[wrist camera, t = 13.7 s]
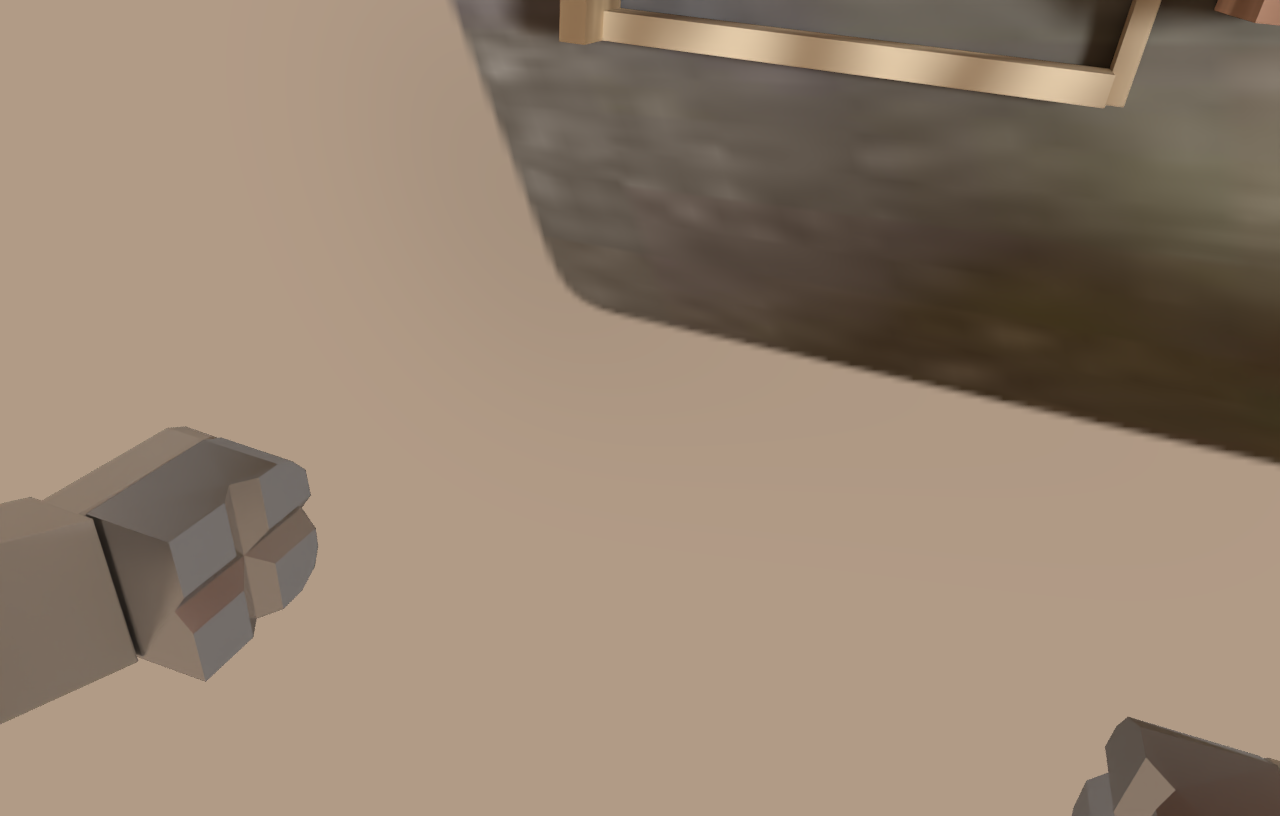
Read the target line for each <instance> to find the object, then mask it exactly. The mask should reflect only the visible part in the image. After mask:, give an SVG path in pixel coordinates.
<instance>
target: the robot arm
mask: <svg viewBox="0 0 1280 816" xmlns="http://www.w3.org/2000/svg"><path fill="white" fill-rule="evenodd" d="M310 495H311V494H310V489H309V484H308V479H307V475H306V470H305V469H303V468H302V467H300V466H299V465H297V464H295V463H294V462H292V461H289V460H286V459H283V458H280V457H278V456H275V455H271V454H268V453H266V452H262V451H260V450H257V449H254V448H251V447H248V446H245V445H242V444H239V443H236V442H233V441H230V440H227V439H224V438H217V437H214V436H211V435H209V434H206V433H203V432H200V431H197V430H194V429H191V428H188V427H175V428H174V427H173V428H166V429H165V430H163V431H161V432H159V433H158V434H156V435H154V436H153V437H151V438H149V439H147V440H146V441H144V442H142V443H140V444H139V445H137V446H135V447H133V448H132V449H130V450H128V451H127V452H125V453H123V454H122V455H120V456H118V457H116V458H115V459H113V460H111V461H109V462H108V463H106V464H104V465H102V466H101V467H99V468H97V469H96V470H94V471H92V472H90V473H89V474H87V475H85V476H83V477H82V478H80V479H78V480H77V481H75V482H73V483H71V484H70V485H68V486H66V487H65V488H63V489H61V490H59V491H58V492H56V493H54V494H53V495H51V496H49V497H47V498H46V499H44V500H42V501H41V500H38V499H35V498H32V497H28V498H23V499H19V500H15V501H10V502H6V503H2V504H0V724H2V723H4V722H6V721H9V720H11V719H13V718H15V717H17V716H19V715H22V714H24V713H26V712H28V711H30V710H33V709H35V708H37V707H39V706H42V705H44V704H46V703H48V702H50V701H52V700H55V699H57V698H59V697H61V696H64V695H66V694H68V693H70V692H72V691H74V690H77V689H79V688H81V687H83V686H86V685H88V684H90V683H92V682H94V681H96V680H99V679H101V678H103V677H105V676H107V675H110V674H112V673H114V672H116V671H119V670H121V669H123V668H125V667H127V666H130V665H132V664H134V663H136V662H137V661H138V659H137V657H139V658H142V659H145V660H147V661H150V662H153V663H156V664H158V665H161V666H164V667H167V668H169V669H172V670H175V671H178V672H180V673H183V674H186V675H189V676H191V677H194V678H197V679H200V680H202V681H205V682H206V681H207V680H208V679H209V678H210V677H211V676H212V675H213V674H214V673H216V672H217V671H218V670H219V669H220V668H221V667H222V666H223V665H224V664H225V663H226V662H227V661H228V660H229V659H230V658H232V657H233V656H234V655H235V654H236V653H237V652H238V651H239V650H240V649H241V648H242V647H243V646H244V645H245V644H247V642H249V641H250V640H251V639H252V638H253V636H254V631H255V624H256V619H257V618H260V617H263V616H265V615H268V614H271V613H274V612H276V611H279V610H282V609H284V608H285V607H286V606H287V605H288V604H289V603H290V602H291V601H292V600H293V599H294V598H295V597H296V596H297V595H298V594H299V593H300V592H301V591H302V590H303V588H304V586H305V584H306V582H307V580H308V578H309V576H310V575H311V573H312V570H313V569H314V567H315V562H316V555H317V549H318V542H317V535H316V528H315V527H314V525H313V524H312V522H311V521H310V519H309V518H308V517H307V515H306V514H305V512H304V511H303V510H302V506H303V505H304V504H305V502H306V501H307V500H308V498H309V497H310ZM1105 750H1106V757H1107V765H1108V773H1106V774H1104V775H1101V776H1098V777H1095V778H1093V779H1090V780H1087V781H1086V783H1085V785H1084V787H1083V789H1082V791H1081V793H1080V795H1079V798H1078V799H1077V801H1076V803H1075V806H1074V808H1073V813H1072V816H1280V761H1278V760H1274V759H1271V758H1262V757H1260V756H1258V755H1255V754H1251V753H1248V752H1245V751H1241V750H1238V749H1234V748H1231V747H1228V746H1224V745H1221V744H1218V743H1214V742H1211V741H1208V740H1204V739H1201V738H1198V737H1194V736H1191V735H1187V734H1184V733H1181V732H1177V731H1174V730H1171V729H1167V728H1164V727H1161V726H1157V725H1154V724H1151V723H1147V722H1144V721H1140V720H1137V719H1134V718H1131V717H1127V718H1126V719H1125V720H1124V721H1122V722H1121V723H1120V724H1119V725H1117V726H1116V728H1115V730H1114V732H1113V733H1112V735H1111V737H1110V739H1109V740H1108V742H1107V744H1106V746H1105Z"/></svg>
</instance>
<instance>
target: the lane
mask: <svg viewBox="0 0 1280 816" xmlns="http://www.w3.org/2000/svg"><path fill="white" fill-rule="evenodd" d="M1160 3H1161V0H1133V1H1132V4H1131V7H1130V10H1129V13H1128V16H1127V19H1126V22H1125V25H1124V28H1123V31H1122V33H1121V36H1120V39H1119V42H1118V45H1117V48H1116V51H1115V54H1114V57H1113V60H1112V63H1111V66H1110V69H1107V68H1099V67H1091V66H1083V65H1075V64H1067V63H1059V62H1051V61H1043V60H1035V59H1027V58H1019V57H1011V56H1003V55H995V54H986V53H978V52H970V51H962V50H954V49H946V48H938V47H930V46H922V45H914V44H906V43H898V42H890V41H882V40H874V39H866V38H858V37H849V36H841V35H833V34H825V33H817V32H809V31H801V30H793V29H785V28H777V27H769V26H761V25H753V24H745V23H737V22H729V21H721V20H712V19H704V18H696V17H688V16H680V15H672V14H664V13H656V12H648V11H640V10H632V9H624V8H620V6H621V0H560V23H559V41H561V42H568V43H575V44H582V45H586V44H590V43H594V42H598V41H602V40H603V41H611V42H618V43H625V44H633V45H640V46H648V47H655V48H662V49H670V50H677V51H684V52H692V53H699V54H707V55H714V56H721V57H729V58H736V59H743V60H751V61H758V62H766V63H773V64H780V65H788V66H795V67H802V68H810V69H817V70H825V71H832V72H839V73H847V74H854V75H861V76H869V77H876V78H884V79H891V80H898V81H906V82H913V83H920V84H928V85H935V86H943V87H950V88H957V89H965V90H972V91H979V92H987V93H994V94H1002V95H1009V96H1016V97H1024V98H1031V99H1038V100H1046V101H1053V102H1061V103H1068V104H1075V105H1083V106H1090V107H1097V108H1105V105H1110V106H1118V107H1124V105H1125V102H1126V99H1127V96H1128V93H1129V91H1130V88H1131V85H1132V82H1133V79H1134V76H1135V74H1136V71H1137V68H1138V65H1139V62H1140V59H1141V57H1142V54H1143V51H1144V48H1145V45H1146V42H1147V40H1148V37H1149V34H1150V31H1151V28H1152V26H1153V23H1154V20H1155V17H1156V14H1157V11H1158V9H1159V6H1160ZM1214 11H1218V12H1221V13H1224V14H1228V15H1231V16H1234V17H1237V18H1241V19H1244V20H1247V21H1251V22H1254V23H1261V24H1271V25H1280V0H1218V1H1217V4H1216V6H1215V9H1214Z"/></svg>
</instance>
